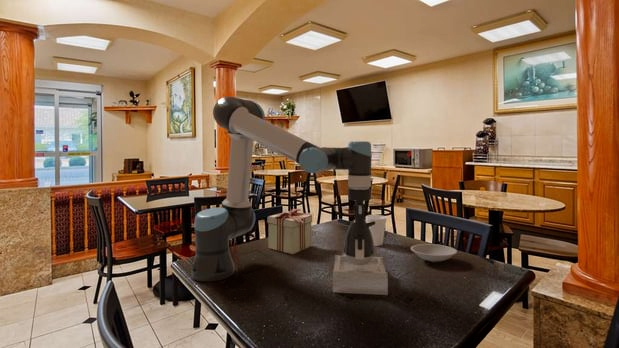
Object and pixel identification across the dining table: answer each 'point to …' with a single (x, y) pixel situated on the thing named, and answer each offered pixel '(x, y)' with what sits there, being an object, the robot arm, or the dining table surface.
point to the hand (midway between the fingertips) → (359, 253)
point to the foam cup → (377, 228)
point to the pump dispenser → (350, 243)
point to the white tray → (360, 276)
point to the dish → (433, 252)
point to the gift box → (289, 231)
